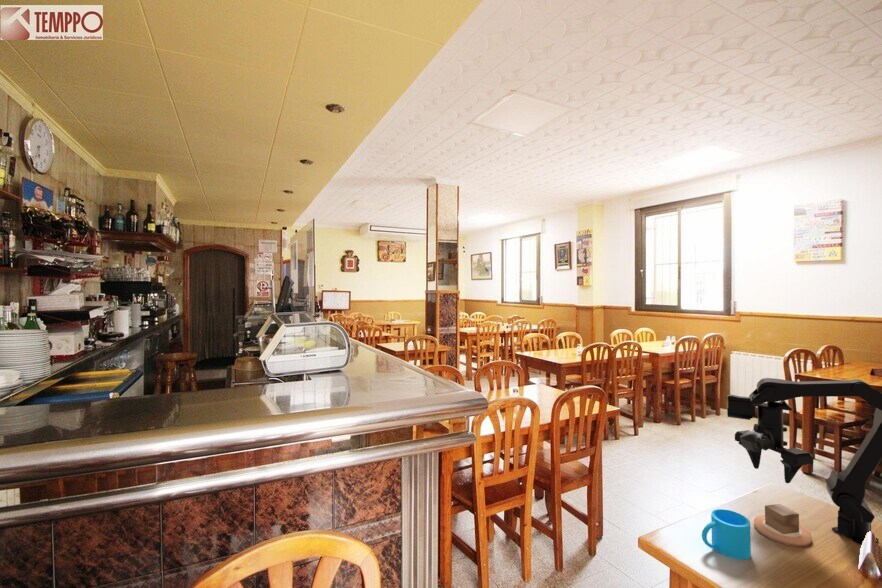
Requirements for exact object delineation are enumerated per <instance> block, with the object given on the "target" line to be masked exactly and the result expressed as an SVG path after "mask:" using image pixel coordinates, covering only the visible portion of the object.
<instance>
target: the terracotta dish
mask: <svg viewBox="0 0 882 588" xmlns="http://www.w3.org/2000/svg"><path fill="white" fill-rule="evenodd" d="M753 527H754V529H755V530H756V531H757V532H759V534H761V535H762V536H764V537H766V538H768V539H770V540H772V541H773V542H777V543H779V544H783V545H787V546H792V547H798V548H799V547H807V546H811V544H812V542H813V537H812V534H811V532H810V531H809V530H808V529H807V528H805V527H803V526H802V525H801V524H799V532H796V533H789V534H782V533H780V532H779V531H777V530H775V529H774V528H772V527H770V526H769V525H767V524H765V514H764V515H763V514H762V515H757V516H756V517H754V518H753Z"/></svg>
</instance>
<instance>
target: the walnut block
mask: <svg viewBox="0 0 882 588" xmlns="http://www.w3.org/2000/svg"><path fill="white" fill-rule="evenodd" d="M764 515H765V524H767V525H769V526H770V527H772V528H774V529H775V530H777V531H779V532H780V533H782V534H789V533H796V532H799V525H800V513H798V512H796V511H795V510H793V509H791V508H789V507H787V506H786V505H784V504H781V503H775V504H766V505H764Z"/></svg>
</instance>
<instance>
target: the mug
mask: <svg viewBox="0 0 882 588" xmlns="http://www.w3.org/2000/svg"><path fill="white" fill-rule="evenodd" d="M710 517H711V518H710V519H711V521H710V522H709V523H707V524H706V525H705V526H704V527H703V530H702V531H701V539H702V541H703V543H704V544H705V545H706V546H708V547H709V548H711V549H713V550H716V551H717V552H718V553H720V554H721V555H723V556H726V557H728V558H731V559H735V558H736V559H735V560H747V559H750V558H751V555H752V550H751V549H752V547H751V546H752V545H751V520H749V518H748V517H746V515H743V514H741V513H739V512H737V511H734V510H730V509H724V508H716V509H713V510H712V511H711V514H710ZM710 530H711V543H710V542H709V540H708V533H709V532H710Z"/></svg>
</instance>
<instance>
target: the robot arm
mask: <svg viewBox="0 0 882 588" xmlns="http://www.w3.org/2000/svg"><path fill="white" fill-rule="evenodd" d="M801 397H802V398H804V397H806V398H809V397H810V398H811V397H812V398H814V397H815V398H817V397H820V398H821V397H857V398H861V399H862V400H864V401H865V402H867V403H868V404H870V405H872V406H873V407H875V411H874V413H873V423H872V427H871V428H870V430H869V431H868V433H867V434H866V436H865V437H864V440H863V441H862V442H861V444H860V446H859V447H858V449H857V450H856V452H855V454H854V455H853V457H852V458H851V460H850V461H849V463H848V465H847V466H846V467H845V468H844V469H843V470H842V471H840V472H837V471H836V470H834V469H832V470H831V472H830V475H829V477H828V478H826V479H825V480H824V482H825V484H826V486H825V487H826V490H827V493H828V494H829V496H830V498H831V500H832V503H833V504H834V505H835V506H837V507H838V510H837V517H836V518H837V521H836V522H837V526H834V527H831V530H832V531H834V532H835V533H837V534H839V535H841V536H843V537H845V538H847V539H848V540H850V541H852V542H854V543H856V544H857V545H858V544H859V545H862V544H861V543H862V541H863V540H864V538H865V535H866V533H867V532H869V531H871V532H872V522H873V521H874V519H875V517H876V516H875V515H874V513H873V512H872V509H870V507H869V506H868V504H867V502H866V501H865V496H866V490H867V489H866V488H867V482H868V481H869V479H870V478H871V476H872V474H873V473H874V472H875V470H876V469H877V467H878V465H879V464H880V462H881V461H882V392H881V391H879V390H878V389H876V388H874V387H872V386H871V385H869V384H868V383H867V382H865V381H864V380H862V379H857V378H852V379H850V380H849V379H847V380H846V379H844V380H814V381H813V380H812V381H809V380H807V381H805V380H804V381H793V380H787V379H782V378H771V377H764V378H761V379H759V381H758V382H757V383H756V388H755V390H753V391H752V392H751V393H750V394H749V395H748V396H740V395H735V394H727V403H726V407H727V410H726V412H727V417H726V418H732V419H740V420H748V421H751V419H753V418H755V417H756V407H757V423H753V428H752V429H753V430H750V429H749V430H740V431H739V430H738V431H736V432H735V433H734V441H736V442H738V445H740V446H741V447H742V448H744V449H745V451H746V452H747V454H748V456H749V459H750V461H751V463H752V466H753V468H754V469H756V470H757V469H759V467H760V465H761V464H760V463H761V457H762V452H763V451H768V450H771V451H773V452H776V453H778V454H780V457H781V459H780V460H779V461H780V462H781V464H782V465H783V475H784V483H786V484H790V483H791V482H792V480H793V479H794V477H795V476H796V475H797V473H798V471H799V470H800V469H801V468H802V467H803V466H806V465H811V464H814V457H813V455H812V454H811V453H810V452H809V451H806V450H803V449H800V448H799V447H794V448H793V447H792V448H786V447H787V446H788V441H785V440H784V439H785V438H784V433H785V432H788V428H787V426H784V411H793V409H792V407H791V405H789V403H787V402H786V401H788V400H792V399H795V398H797V399H798V398H801ZM876 540H877V542H879V538H877V537H876Z"/></svg>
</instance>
